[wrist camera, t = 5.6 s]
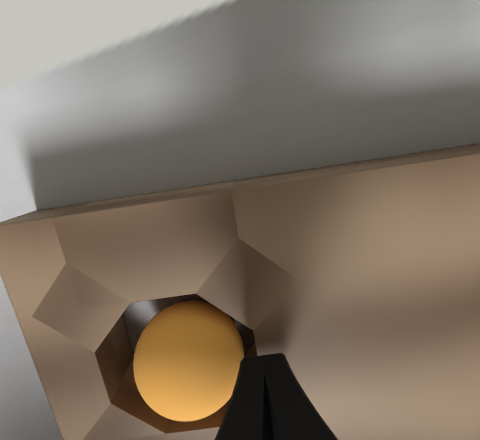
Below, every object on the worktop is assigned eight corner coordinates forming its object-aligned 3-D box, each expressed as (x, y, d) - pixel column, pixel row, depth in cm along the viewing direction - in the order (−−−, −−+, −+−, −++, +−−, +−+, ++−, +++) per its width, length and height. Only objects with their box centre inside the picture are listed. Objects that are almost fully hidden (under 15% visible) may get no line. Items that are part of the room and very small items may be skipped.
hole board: (527, 394, 14) (587, 446, 12) (113, 446, 15) (88, 506, 12) (556, 132, 11) (646, 128, 9) (35, 210, 12) (-18, 228, 9)
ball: (128, 454, 10) (164, 364, 14) (249, 449, 9) (250, 358, 13) (98, 353, 9) (146, 286, 13) (232, 343, 8) (240, 278, 12)
